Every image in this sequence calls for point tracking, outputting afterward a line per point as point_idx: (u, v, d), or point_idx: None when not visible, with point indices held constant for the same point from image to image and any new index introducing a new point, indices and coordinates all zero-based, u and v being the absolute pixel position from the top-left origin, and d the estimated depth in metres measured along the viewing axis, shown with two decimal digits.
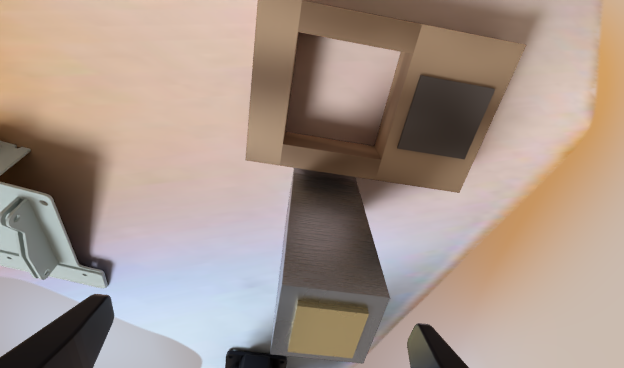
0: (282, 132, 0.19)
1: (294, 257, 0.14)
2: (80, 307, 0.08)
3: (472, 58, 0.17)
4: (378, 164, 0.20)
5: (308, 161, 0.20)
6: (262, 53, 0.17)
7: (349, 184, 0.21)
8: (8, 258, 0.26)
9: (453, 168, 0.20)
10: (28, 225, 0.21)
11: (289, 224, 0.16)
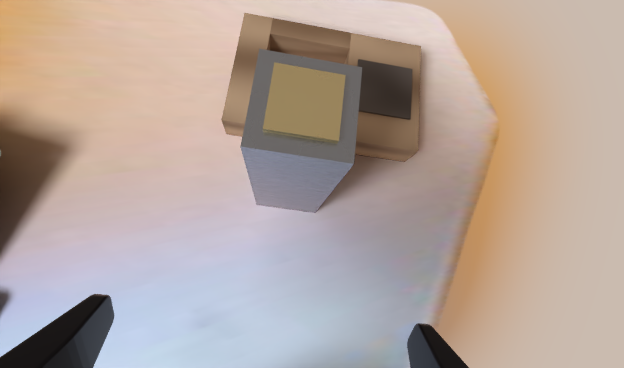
0: None
1: None
2: (80, 307, 0.08)
3: (390, 52, 0.25)
4: None
5: None
6: (244, 44, 0.24)
7: None
8: None
9: (404, 128, 0.24)
10: None
11: None
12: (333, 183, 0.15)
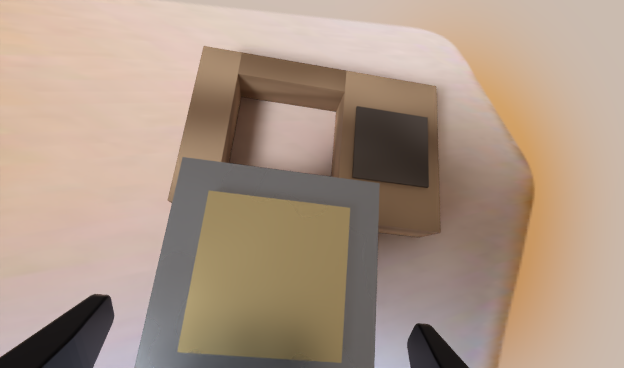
0: None
1: None
2: (80, 307, 0.08)
3: (397, 95, 0.19)
4: None
5: None
6: (202, 89, 0.18)
7: None
8: None
9: (421, 200, 0.18)
10: None
11: None
12: None
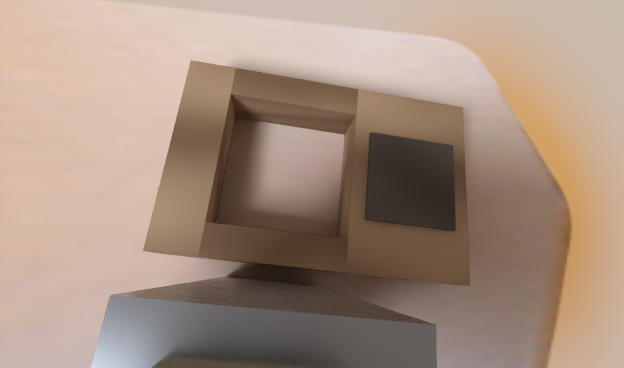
0: (205, 204, 0.14)
1: (179, 290, 0.06)
2: None
3: (417, 118, 0.17)
4: (345, 246, 0.14)
5: (243, 247, 0.14)
6: (188, 112, 0.15)
7: (308, 286, 0.14)
8: None
9: (447, 246, 0.15)
10: None
11: (190, 283, 0.08)
12: None
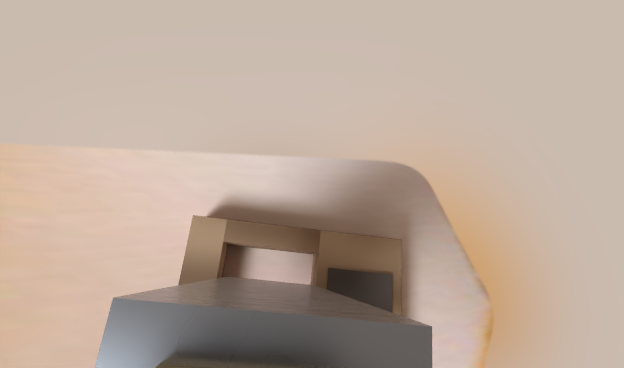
0: None
1: (180, 291, 0.06)
2: None
3: (366, 252, 0.22)
4: None
5: None
6: (191, 259, 0.20)
7: (308, 286, 0.14)
8: None
9: None
10: None
11: (191, 283, 0.08)
12: None
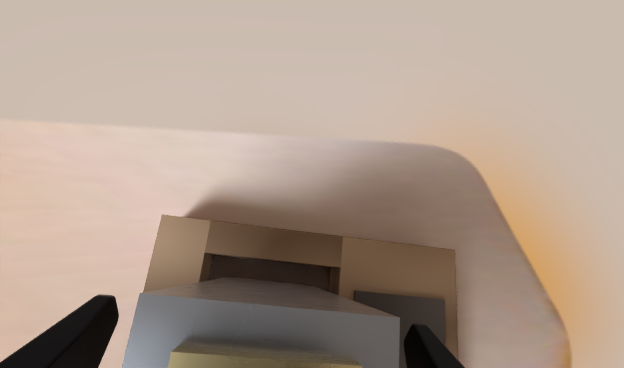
0: None
1: (191, 289, 0.07)
2: (85, 308, 0.08)
3: (406, 267, 0.15)
4: None
5: None
6: (157, 279, 0.14)
7: None
8: None
9: None
10: None
11: (197, 283, 0.09)
12: None
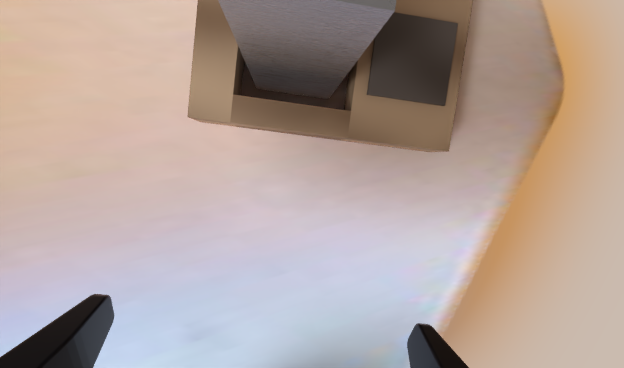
0: (232, 79, 0.16)
1: None
2: (80, 307, 0.08)
3: None
4: (348, 117, 0.17)
5: (265, 116, 0.17)
6: None
7: None
8: None
9: (435, 119, 0.18)
10: None
11: None
12: (356, 52, 0.11)
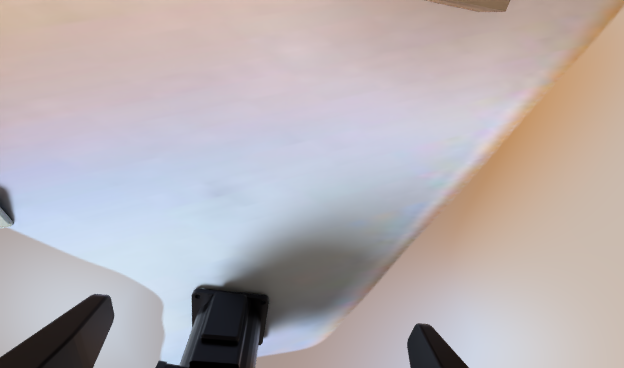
0: None
1: None
2: (80, 307, 0.08)
3: None
4: None
5: None
6: None
7: None
8: None
9: None
10: None
11: None
12: None
